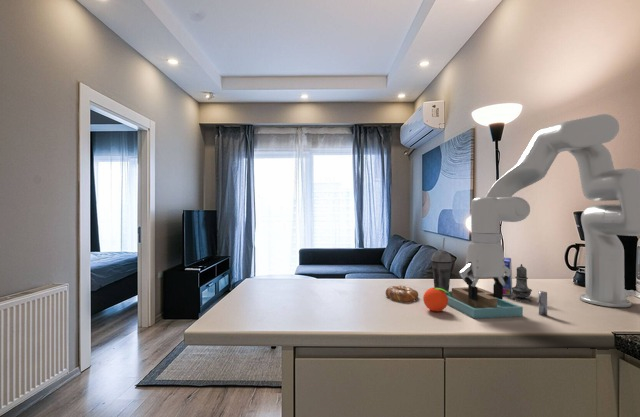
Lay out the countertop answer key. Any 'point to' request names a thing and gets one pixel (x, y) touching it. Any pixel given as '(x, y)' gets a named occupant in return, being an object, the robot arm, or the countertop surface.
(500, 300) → the tray
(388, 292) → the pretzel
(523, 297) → the grey tiered figurine
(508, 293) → the ink cartridge box
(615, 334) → the countertop surface
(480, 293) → the wooden frame with stub
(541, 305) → the grey metallic cylinder
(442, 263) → the beverage cup
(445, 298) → the clementine
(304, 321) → the countertop surface
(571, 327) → the countertop surface
